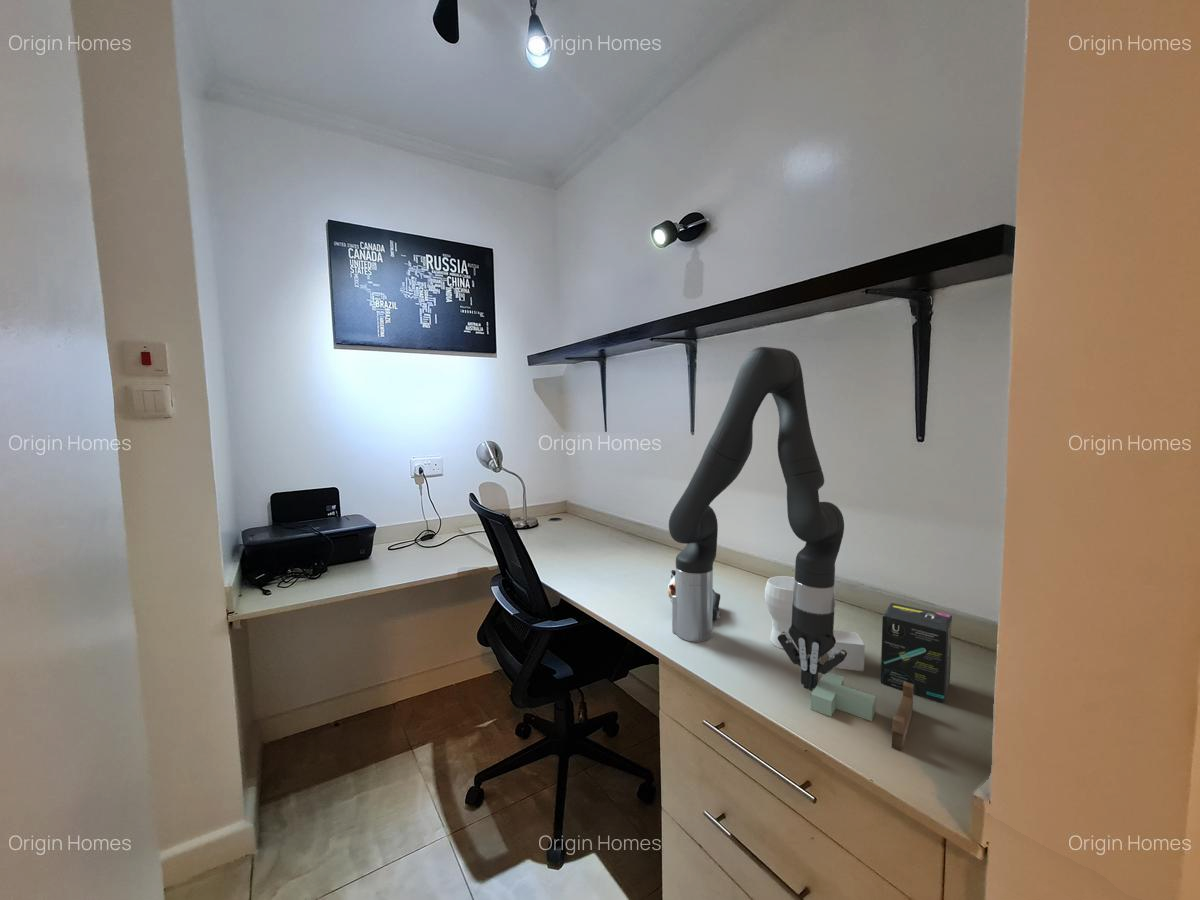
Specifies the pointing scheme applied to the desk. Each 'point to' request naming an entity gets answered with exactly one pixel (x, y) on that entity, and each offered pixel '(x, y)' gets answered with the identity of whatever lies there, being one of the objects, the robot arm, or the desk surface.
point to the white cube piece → (850, 650)
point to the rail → (902, 717)
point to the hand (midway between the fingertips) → (809, 687)
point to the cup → (780, 605)
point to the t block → (841, 698)
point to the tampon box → (916, 650)
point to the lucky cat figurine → (715, 596)
